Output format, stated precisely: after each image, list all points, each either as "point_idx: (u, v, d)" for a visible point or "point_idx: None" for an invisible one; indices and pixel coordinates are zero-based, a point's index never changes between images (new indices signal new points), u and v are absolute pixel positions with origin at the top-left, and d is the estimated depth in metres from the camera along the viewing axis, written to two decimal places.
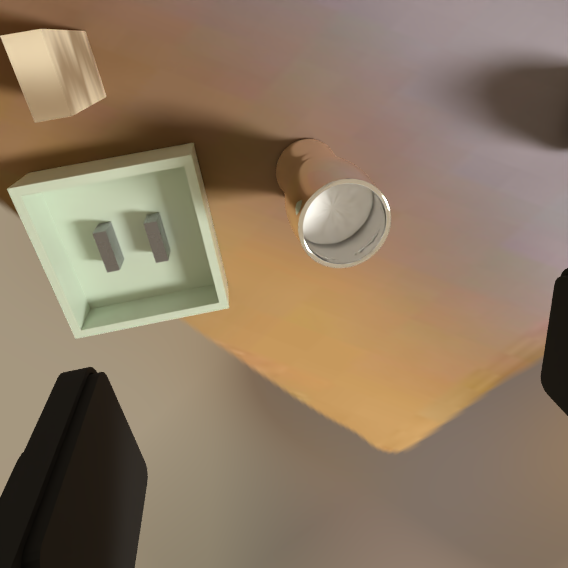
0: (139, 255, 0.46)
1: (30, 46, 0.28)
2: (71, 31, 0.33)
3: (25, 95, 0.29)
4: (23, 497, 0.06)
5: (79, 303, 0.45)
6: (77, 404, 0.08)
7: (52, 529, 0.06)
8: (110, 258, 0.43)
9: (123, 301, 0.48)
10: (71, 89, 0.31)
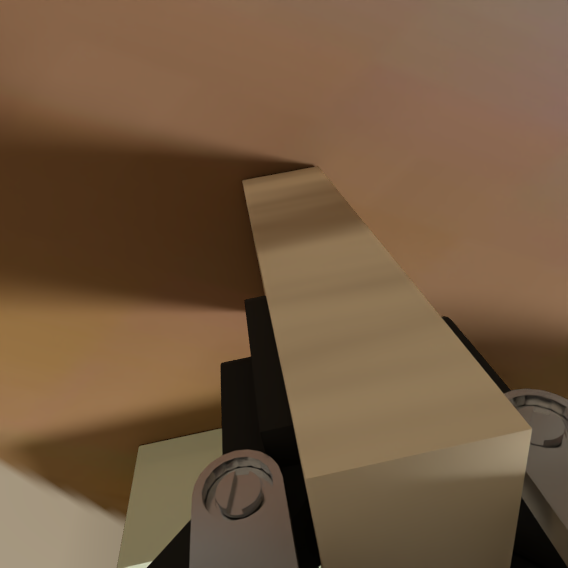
0: None
1: (443, 498, 0.05)
2: None
3: None
4: (272, 378, 0.07)
5: None
6: None
7: None
8: None
9: None
10: None
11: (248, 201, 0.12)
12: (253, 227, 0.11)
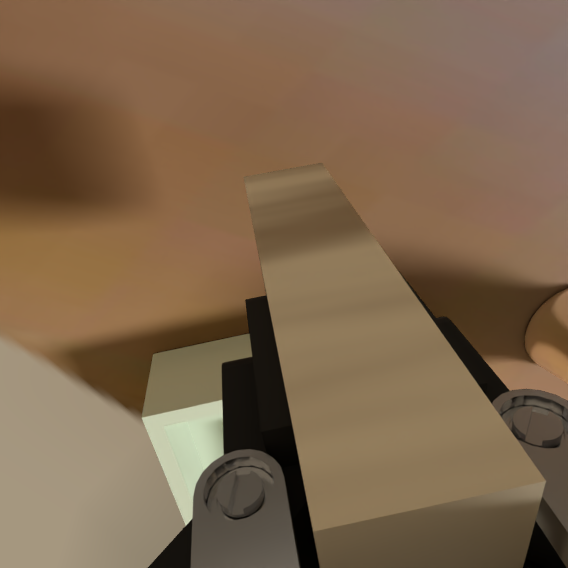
0: None
1: (451, 543, 0.05)
2: None
3: None
4: (273, 377, 0.07)
5: None
6: None
7: None
8: None
9: None
10: None
11: (250, 202, 0.12)
12: (256, 233, 0.10)
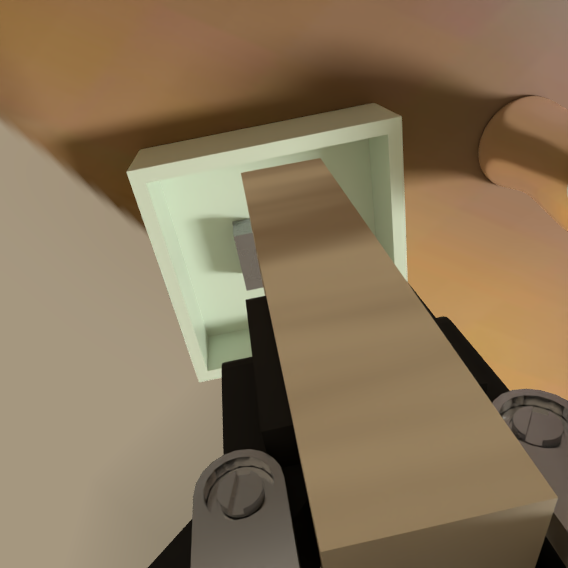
0: None
1: (460, 560, 0.05)
2: None
3: None
4: (273, 377, 0.07)
5: (201, 331, 0.33)
6: None
7: None
8: (253, 271, 0.30)
9: None
10: None
11: (248, 199, 0.12)
12: (254, 232, 0.10)
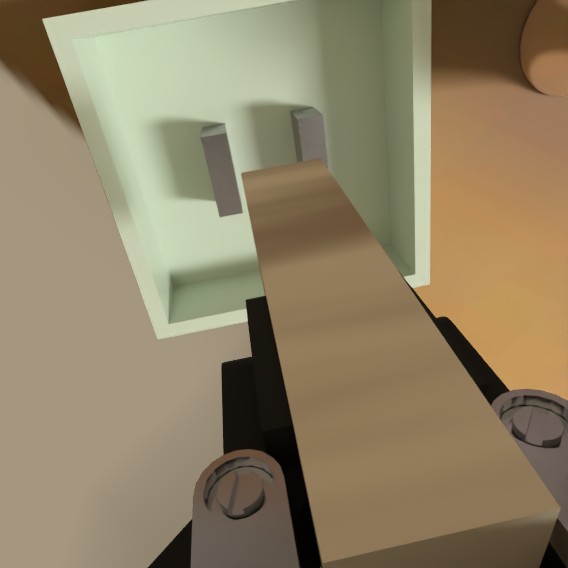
0: None
1: None
2: None
3: None
4: (273, 377, 0.07)
5: (162, 275, 0.25)
6: None
7: None
8: (228, 189, 0.23)
9: (230, 274, 0.28)
10: None
11: (248, 200, 0.12)
12: (255, 234, 0.10)
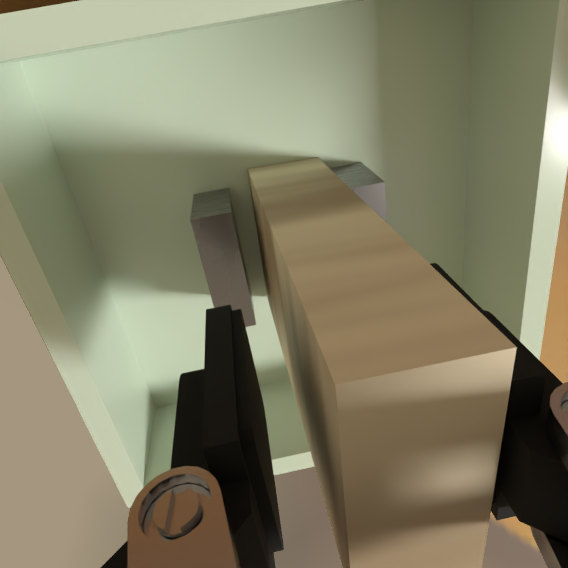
0: None
1: (444, 408, 0.06)
2: None
3: (353, 544, 0.07)
4: (222, 391, 0.07)
5: (136, 407, 0.17)
6: (233, 330, 0.09)
7: (251, 416, 0.07)
8: (234, 293, 0.15)
9: None
10: None
11: (256, 185, 0.13)
12: (263, 206, 0.12)
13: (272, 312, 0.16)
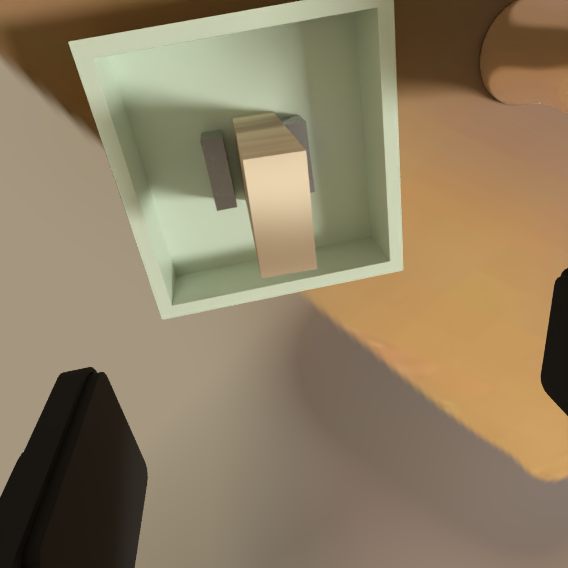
0: None
1: (283, 175, 0.18)
2: (282, 124, 0.23)
3: (257, 242, 0.19)
4: (23, 496, 0.06)
5: (166, 263, 0.28)
6: (77, 404, 0.08)
7: (52, 529, 0.06)
8: (224, 186, 0.26)
9: (226, 264, 0.31)
10: None
11: (234, 122, 0.25)
12: (235, 128, 0.23)
13: None
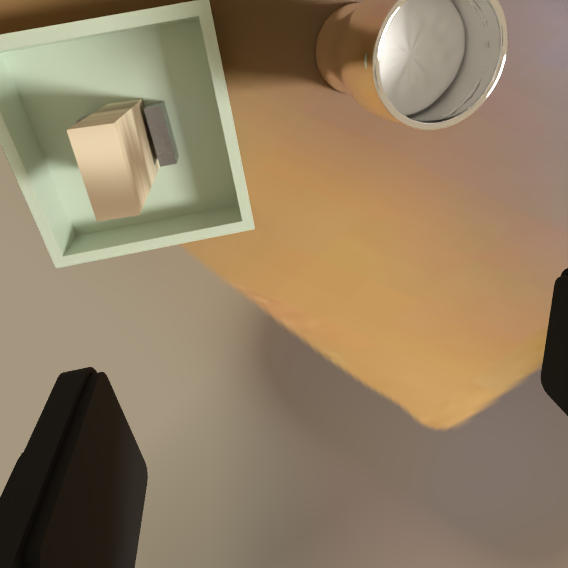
0: None
1: (99, 141, 0.24)
2: (133, 107, 0.30)
3: (89, 193, 0.25)
4: (23, 496, 0.06)
5: (61, 223, 0.35)
6: (77, 404, 0.08)
7: (52, 529, 0.06)
8: None
9: (118, 226, 0.37)
10: (137, 181, 0.27)
11: None
12: (97, 110, 0.30)
13: None
